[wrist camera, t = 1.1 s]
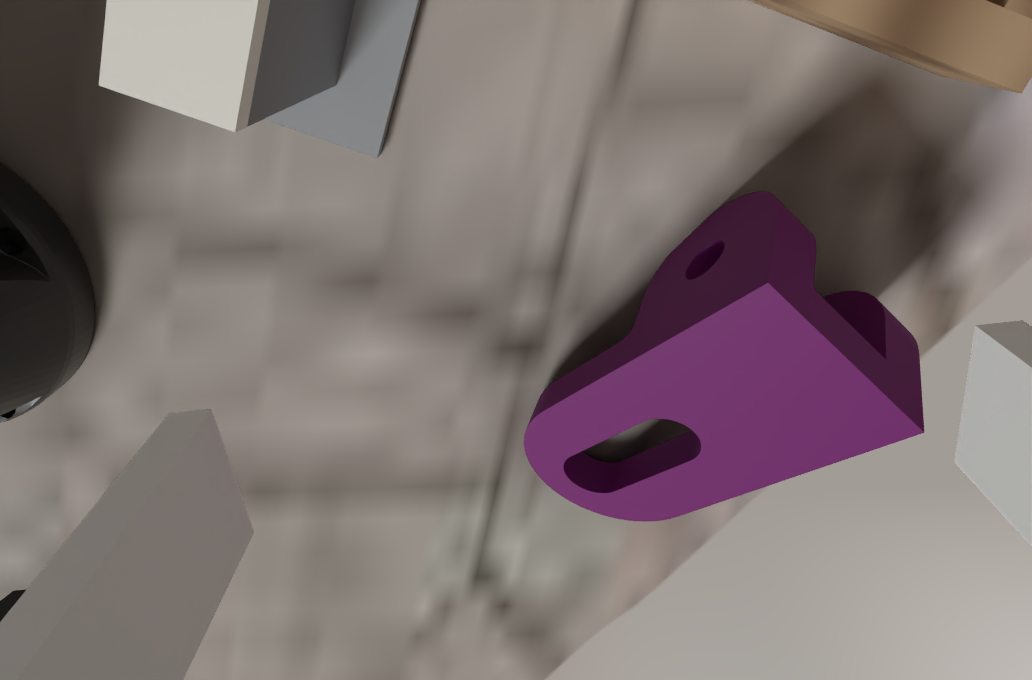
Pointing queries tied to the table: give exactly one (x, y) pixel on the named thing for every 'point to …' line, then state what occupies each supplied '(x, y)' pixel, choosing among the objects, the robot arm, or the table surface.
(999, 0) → the port block
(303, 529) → the table surface
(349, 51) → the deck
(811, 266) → the mounting bracket
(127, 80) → the plug
